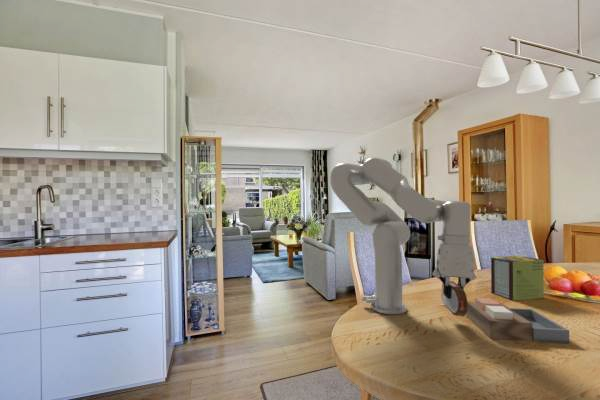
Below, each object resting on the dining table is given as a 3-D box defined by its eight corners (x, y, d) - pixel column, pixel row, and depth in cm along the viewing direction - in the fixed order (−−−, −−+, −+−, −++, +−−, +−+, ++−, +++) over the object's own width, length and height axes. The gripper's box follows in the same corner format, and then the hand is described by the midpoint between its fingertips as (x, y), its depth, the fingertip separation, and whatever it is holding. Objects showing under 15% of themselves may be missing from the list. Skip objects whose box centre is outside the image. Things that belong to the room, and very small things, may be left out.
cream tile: (494, 318, 85) (493, 311, 85) (485, 312, 90) (485, 305, 90) (512, 319, 85) (512, 312, 85) (503, 312, 90) (503, 306, 90)
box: (533, 341, 82) (533, 328, 82) (502, 318, 98) (502, 307, 98) (569, 343, 81) (569, 330, 81) (531, 319, 97) (531, 308, 97)
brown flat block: (490, 338, 84) (490, 321, 84) (466, 316, 99) (466, 301, 99) (532, 340, 82) (532, 323, 82) (501, 318, 98) (501, 303, 98)
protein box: (544, 298, 118) (544, 259, 118) (513, 301, 114) (512, 261, 114) (519, 290, 128) (519, 254, 128) (490, 292, 125) (490, 256, 125)
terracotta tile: (482, 309, 92) (482, 303, 92) (475, 304, 97) (475, 298, 97) (499, 310, 91) (499, 304, 91) (491, 304, 96) (491, 298, 96)
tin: (467, 321, 85) (470, 292, 85) (455, 319, 86) (459, 291, 86) (448, 302, 100) (451, 278, 100) (438, 300, 101) (441, 276, 100)
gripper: (432, 240, 90) (429, 299, 90) (489, 243, 88) (486, 304, 88) (425, 237, 97) (423, 291, 98) (477, 239, 95) (475, 295, 96)
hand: (453, 297), depth 93 cm, fingers closed on tin, 2 cm apart
